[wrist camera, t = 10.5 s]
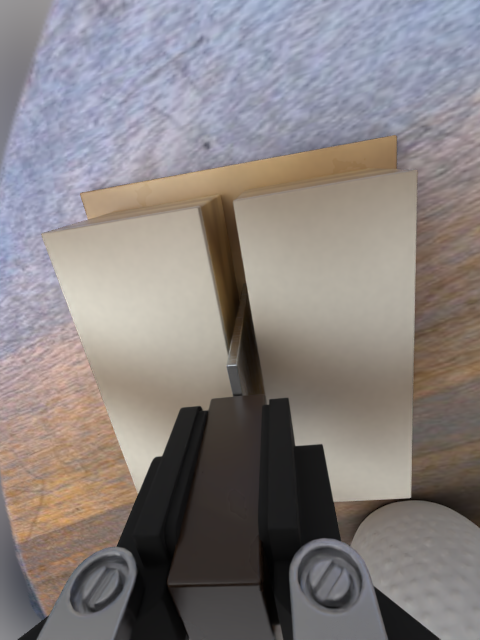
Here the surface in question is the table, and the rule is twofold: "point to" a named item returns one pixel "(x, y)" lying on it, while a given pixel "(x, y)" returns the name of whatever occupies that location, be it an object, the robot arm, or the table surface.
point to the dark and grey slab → (227, 512)
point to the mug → (425, 564)
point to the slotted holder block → (257, 302)
